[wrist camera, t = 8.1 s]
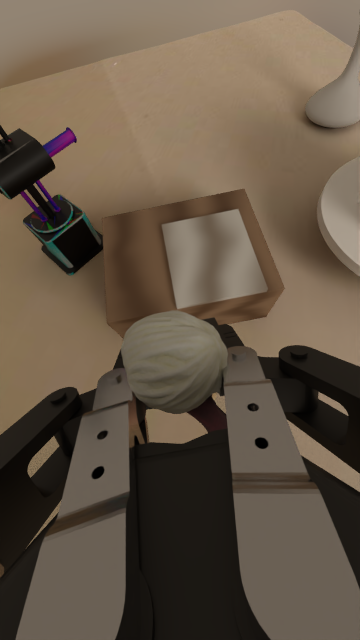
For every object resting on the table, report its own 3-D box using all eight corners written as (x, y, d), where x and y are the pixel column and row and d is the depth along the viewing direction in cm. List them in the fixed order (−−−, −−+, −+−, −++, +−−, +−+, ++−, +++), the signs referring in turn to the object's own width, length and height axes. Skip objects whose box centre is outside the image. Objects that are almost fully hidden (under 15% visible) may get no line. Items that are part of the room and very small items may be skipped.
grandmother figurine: (145, 371, 19) (38, 303, 7) (180, 340, 19) (132, 232, 8) (210, 452, 16) (208, 557, 4) (248, 413, 17) (334, 414, 5)
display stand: (128, 343, 33) (104, 321, 25) (121, 254, 39) (100, 214, 31) (266, 316, 32) (286, 285, 24) (236, 231, 38) (244, 184, 30)
